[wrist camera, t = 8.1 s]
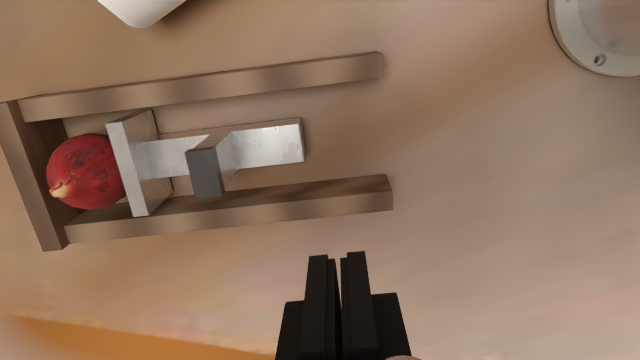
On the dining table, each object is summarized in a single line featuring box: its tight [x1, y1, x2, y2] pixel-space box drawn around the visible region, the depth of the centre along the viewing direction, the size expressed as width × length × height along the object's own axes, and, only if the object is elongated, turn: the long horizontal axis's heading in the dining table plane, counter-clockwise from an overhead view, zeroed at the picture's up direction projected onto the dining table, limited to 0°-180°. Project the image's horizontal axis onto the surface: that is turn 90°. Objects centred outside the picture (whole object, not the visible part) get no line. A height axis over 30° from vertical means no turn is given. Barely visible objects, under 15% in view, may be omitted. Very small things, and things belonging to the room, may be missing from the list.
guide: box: [0, 51, 394, 252], centre depth 32 cm, size 28×12×5 cm, turn 97°
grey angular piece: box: [105, 110, 306, 217], centre depth 30 cm, size 13×7×8 cm, turn 97°
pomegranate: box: [46, 133, 126, 210], centre depth 31 cm, size 6×6×8 cm
